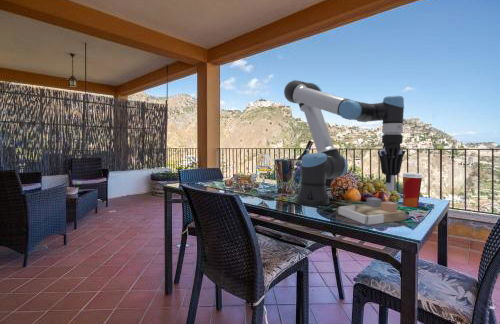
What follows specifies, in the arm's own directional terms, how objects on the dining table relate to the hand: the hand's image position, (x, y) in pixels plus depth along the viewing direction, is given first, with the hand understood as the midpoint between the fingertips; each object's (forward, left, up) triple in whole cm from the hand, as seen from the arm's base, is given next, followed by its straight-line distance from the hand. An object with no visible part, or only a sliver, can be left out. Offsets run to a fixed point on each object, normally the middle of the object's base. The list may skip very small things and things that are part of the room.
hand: (390, 190), depth 113 cm
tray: (+4, -19, -9) cm, 21 cm away
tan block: (+7, -8, -6) cm, 12 cm away
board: (+4, -10, -9) cm, 14 cm away
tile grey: (0, -8, -6) cm, 10 cm away
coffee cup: (-5, +19, -9) cm, 22 cm away
